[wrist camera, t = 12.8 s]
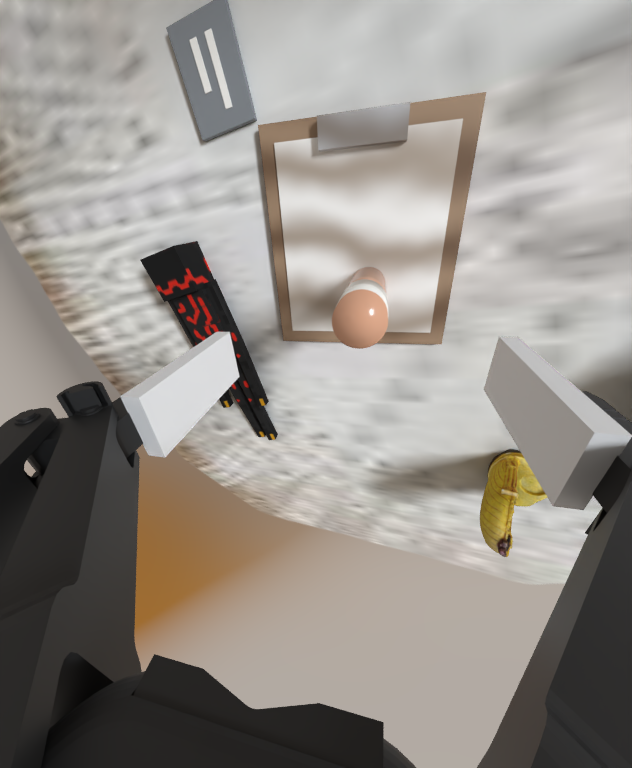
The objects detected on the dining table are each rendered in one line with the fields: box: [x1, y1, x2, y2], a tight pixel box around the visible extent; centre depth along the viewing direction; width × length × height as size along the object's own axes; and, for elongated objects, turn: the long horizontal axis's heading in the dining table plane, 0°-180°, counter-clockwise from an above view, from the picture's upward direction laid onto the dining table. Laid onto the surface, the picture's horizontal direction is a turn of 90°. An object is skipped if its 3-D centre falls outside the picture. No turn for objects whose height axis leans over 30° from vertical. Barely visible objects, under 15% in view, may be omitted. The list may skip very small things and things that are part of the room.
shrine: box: [480, 450, 548, 557], centre depth 35 cm, size 12×8×15 cm
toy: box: [141, 241, 278, 440], centre depth 40 cm, size 8×5×30 cm
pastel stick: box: [332, 267, 388, 348], centre depth 26 cm, size 4×4×14 cm
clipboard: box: [258, 92, 486, 344], centre depth 30 cm, size 22×20×2 cm
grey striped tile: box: [166, 0, 257, 142], centre depth 26 cm, size 8×6×1 cm
